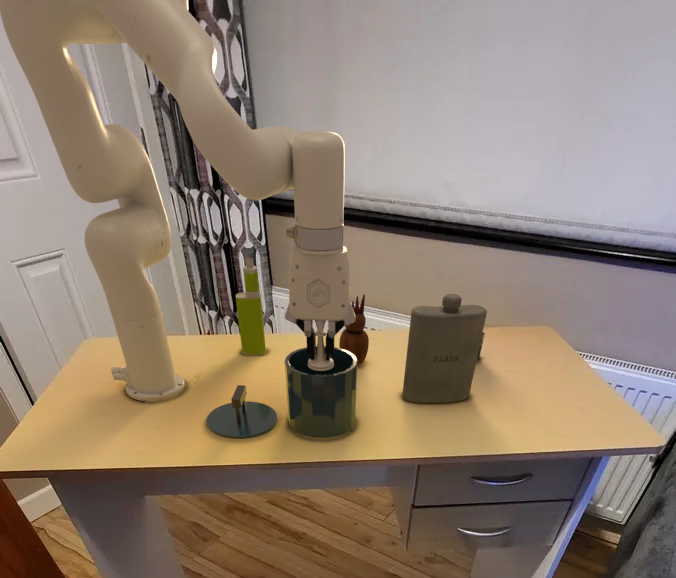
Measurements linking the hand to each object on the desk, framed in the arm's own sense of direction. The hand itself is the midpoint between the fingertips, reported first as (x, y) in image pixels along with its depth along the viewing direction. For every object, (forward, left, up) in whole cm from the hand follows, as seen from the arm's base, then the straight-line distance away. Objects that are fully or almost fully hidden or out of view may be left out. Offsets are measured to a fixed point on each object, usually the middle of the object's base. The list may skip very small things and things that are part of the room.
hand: (320, 356), depth 94 cm
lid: (-16, -2, -13) cm, 20 cm away
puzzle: (+32, +34, -13) cm, 49 cm away
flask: (+24, +13, -13) cm, 31 cm away
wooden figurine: (+5, +29, -13) cm, 33 cm away
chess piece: (0, 0, -2) cm, 2 cm away
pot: (0, 0, -13) cm, 13 cm away
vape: (-20, +33, -13) cm, 41 cm away
